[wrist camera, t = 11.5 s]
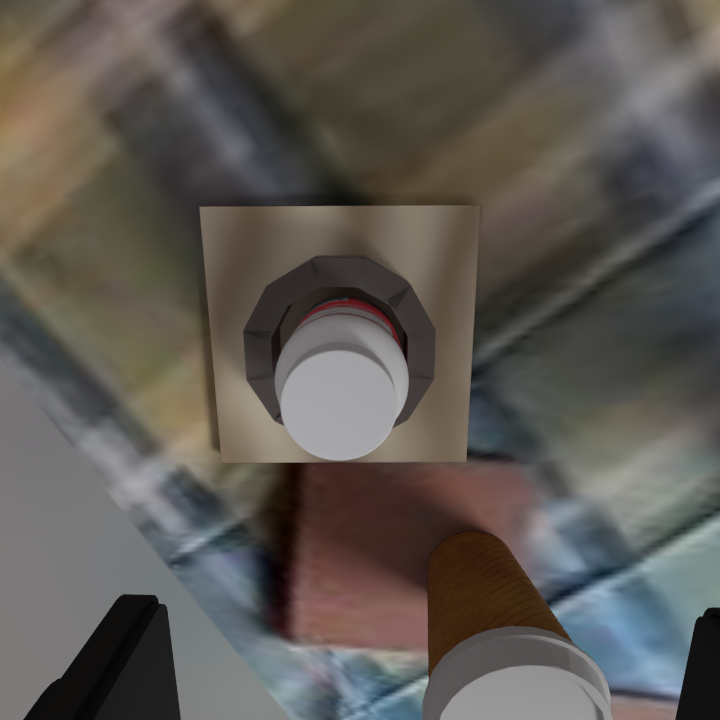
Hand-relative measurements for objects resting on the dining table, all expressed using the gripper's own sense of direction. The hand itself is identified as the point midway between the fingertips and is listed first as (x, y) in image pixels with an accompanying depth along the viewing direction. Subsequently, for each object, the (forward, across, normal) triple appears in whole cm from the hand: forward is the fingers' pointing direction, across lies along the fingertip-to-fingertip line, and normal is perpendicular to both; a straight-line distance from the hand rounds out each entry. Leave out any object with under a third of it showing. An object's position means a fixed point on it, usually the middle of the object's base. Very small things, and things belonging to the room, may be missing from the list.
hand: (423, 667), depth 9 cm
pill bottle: (+22, +3, -1) cm, 22 cm away
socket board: (+23, +3, -1) cm, 23 cm away
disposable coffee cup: (+24, -6, +16) cm, 29 cm away
